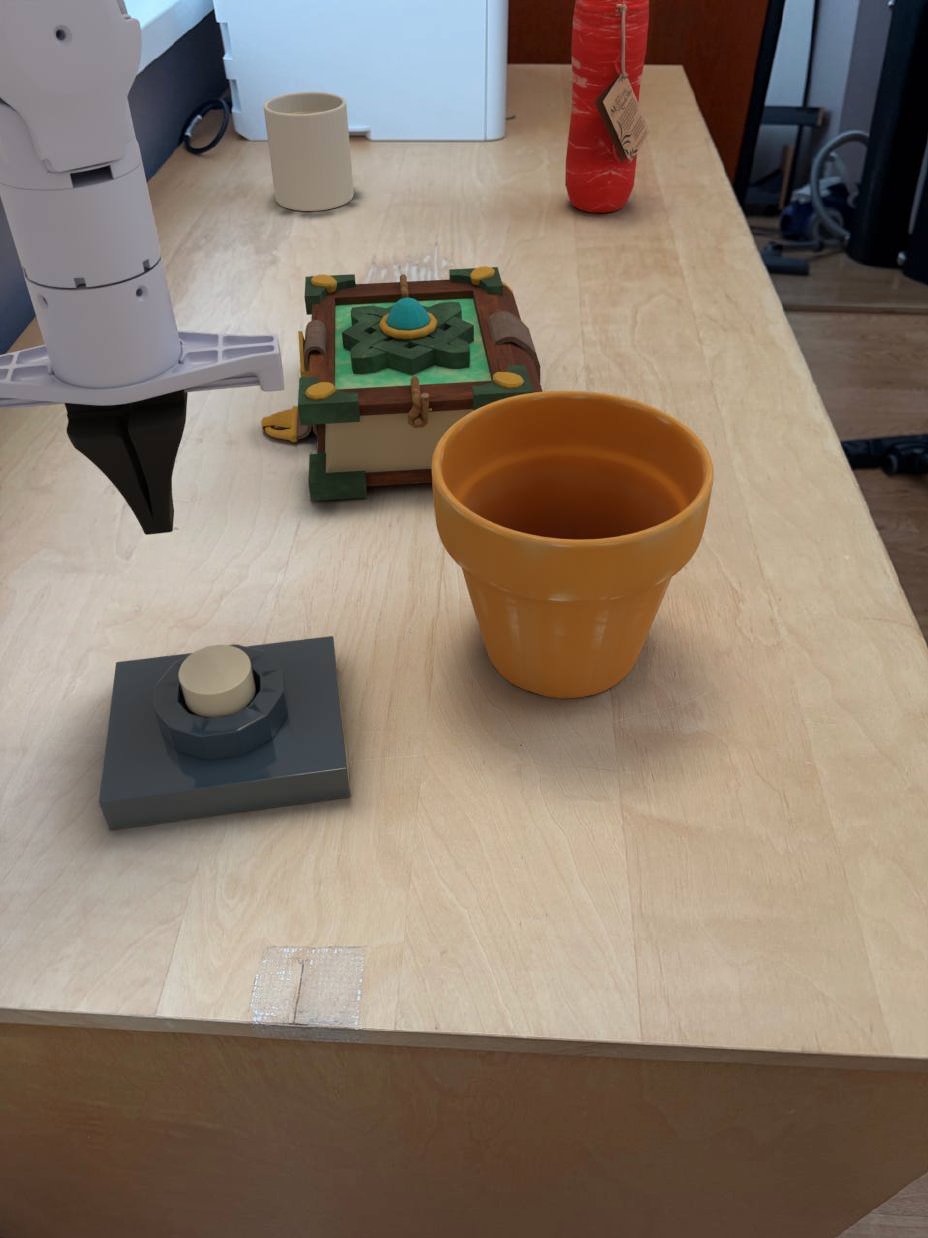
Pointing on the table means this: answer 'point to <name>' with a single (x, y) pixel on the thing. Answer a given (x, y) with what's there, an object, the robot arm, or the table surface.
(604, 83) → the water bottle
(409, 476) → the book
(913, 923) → the table surface
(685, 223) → the table surface
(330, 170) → the mug
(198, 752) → the push button base
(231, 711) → the cream cylinder puck
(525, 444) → the flower pot
